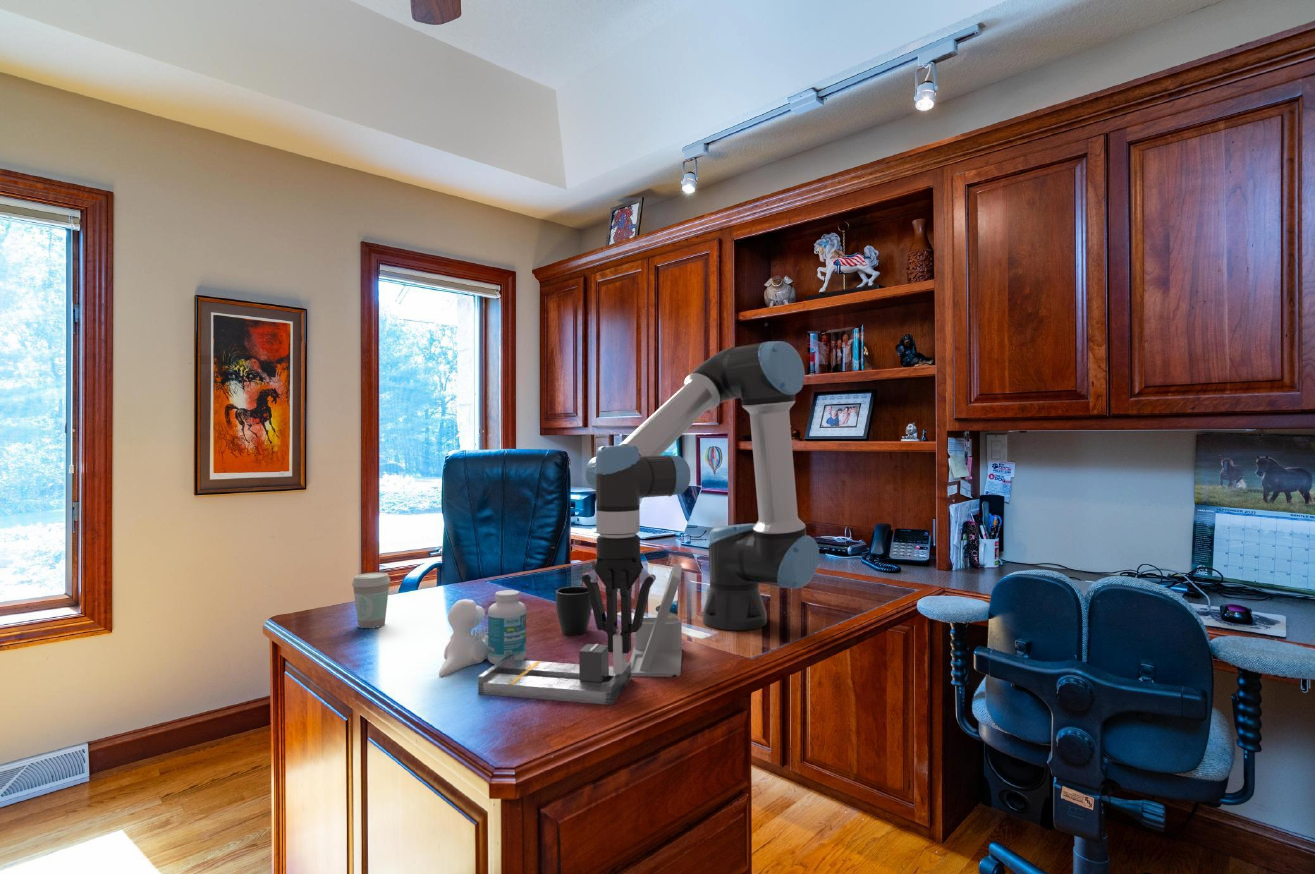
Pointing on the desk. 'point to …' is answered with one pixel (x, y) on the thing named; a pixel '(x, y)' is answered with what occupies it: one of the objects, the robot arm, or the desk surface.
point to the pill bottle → (506, 627)
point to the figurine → (465, 637)
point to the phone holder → (659, 638)
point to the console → (550, 682)
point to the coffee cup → (371, 598)
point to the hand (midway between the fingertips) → (619, 671)
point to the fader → (594, 662)
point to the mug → (573, 609)
